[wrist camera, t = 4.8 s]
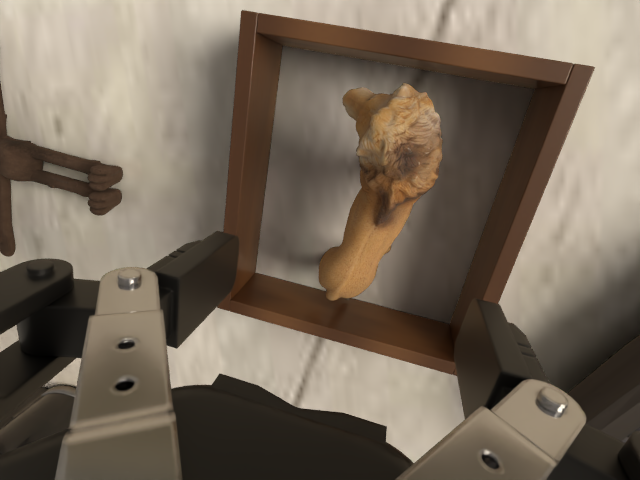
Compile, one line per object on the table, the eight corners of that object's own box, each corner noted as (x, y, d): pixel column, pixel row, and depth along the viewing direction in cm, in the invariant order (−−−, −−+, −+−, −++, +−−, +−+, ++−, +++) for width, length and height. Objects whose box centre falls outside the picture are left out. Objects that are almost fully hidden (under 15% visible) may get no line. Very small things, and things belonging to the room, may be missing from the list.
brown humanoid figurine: (96, 301, 29) (-75, 252, 30) (128, 277, 33) (-23, 233, 34) (99, 56, 23) (-123, -4, 23) (140, 62, 27) (-51, 11, 27)
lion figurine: (364, 80, 23) (340, 64, 14) (451, 99, 22) (478, 94, 14) (316, 285, 28) (278, 360, 20) (384, 306, 27) (374, 392, 19)
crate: (242, 279, 29) (215, 307, 25) (269, 24, 23) (238, 6, 19) (458, 337, 27) (467, 379, 23) (558, 72, 20) (597, 63, 16)
